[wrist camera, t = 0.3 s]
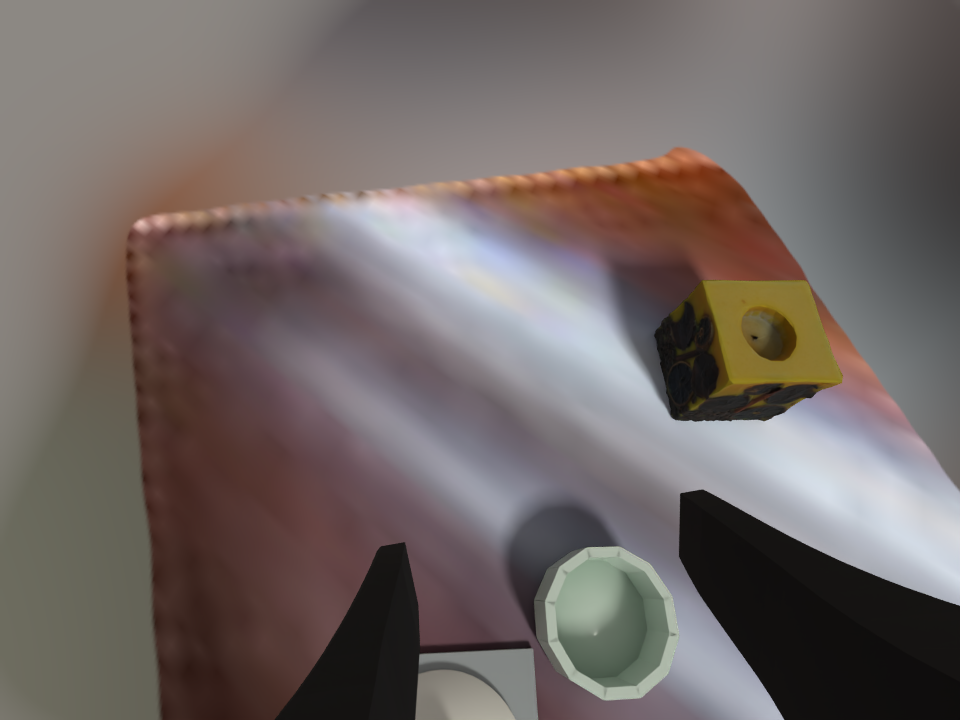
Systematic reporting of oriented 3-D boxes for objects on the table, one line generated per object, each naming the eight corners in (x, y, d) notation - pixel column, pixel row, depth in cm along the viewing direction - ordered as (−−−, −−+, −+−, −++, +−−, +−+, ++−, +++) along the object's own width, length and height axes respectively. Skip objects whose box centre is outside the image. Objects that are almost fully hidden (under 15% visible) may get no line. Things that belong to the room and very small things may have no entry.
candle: (741, 331, 52) (809, 277, 43) (769, 422, 48) (850, 383, 39) (650, 329, 51) (700, 274, 42) (671, 423, 46) (731, 383, 37)
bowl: (660, 683, 37) (689, 694, 33) (537, 690, 36) (552, 703, 32) (639, 549, 41) (663, 545, 37) (528, 552, 40) (540, 548, 36)
